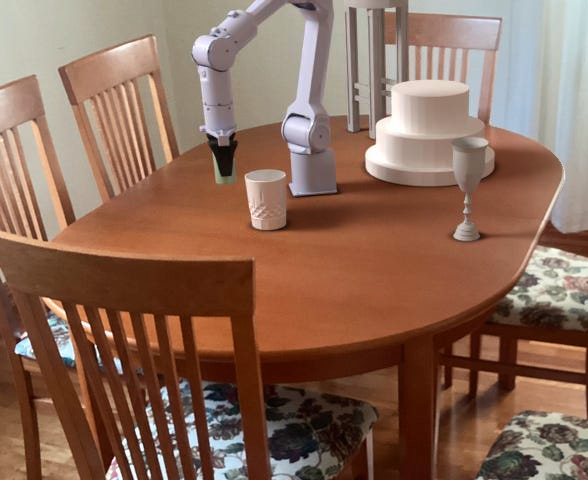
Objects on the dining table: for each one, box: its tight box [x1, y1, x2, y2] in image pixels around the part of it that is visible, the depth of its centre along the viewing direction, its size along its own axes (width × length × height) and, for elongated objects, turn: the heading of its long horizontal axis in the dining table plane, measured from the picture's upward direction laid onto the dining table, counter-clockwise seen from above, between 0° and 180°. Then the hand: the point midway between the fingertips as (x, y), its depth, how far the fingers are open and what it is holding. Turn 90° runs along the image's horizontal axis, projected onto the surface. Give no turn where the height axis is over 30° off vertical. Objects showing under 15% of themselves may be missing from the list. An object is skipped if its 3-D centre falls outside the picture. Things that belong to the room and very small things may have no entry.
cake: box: [364, 79, 496, 187], centre depth 210 cm, size 30×30×18 cm
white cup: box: [244, 168, 287, 231], centre depth 180 cm, size 8×8×10 cm
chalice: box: [451, 137, 490, 242], centre depth 172 cm, size 7×7×18 cm
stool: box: [343, 0, 410, 140], centre depth 232 cm, size 16×16×35 cm
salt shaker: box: [211, 151, 238, 186], centre depth 182 cm, size 4×4×8 cm
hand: (225, 172), depth 183 cm, fingers closed on salt shaker, 4 cm apart
